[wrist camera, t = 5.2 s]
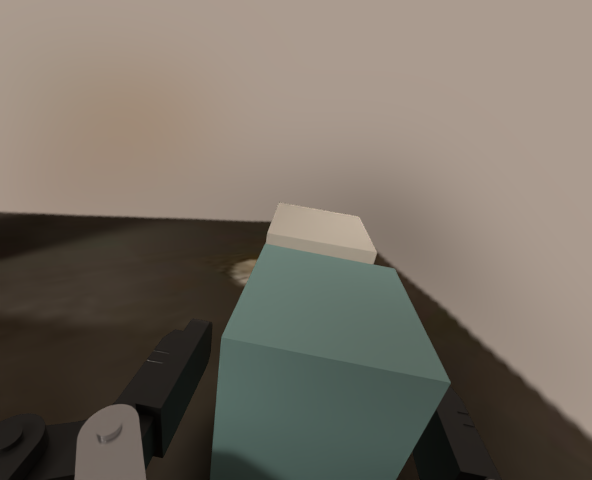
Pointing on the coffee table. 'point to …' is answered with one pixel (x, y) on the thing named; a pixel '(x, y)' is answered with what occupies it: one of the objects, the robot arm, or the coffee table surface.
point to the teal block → (322, 373)
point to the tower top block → (321, 233)
